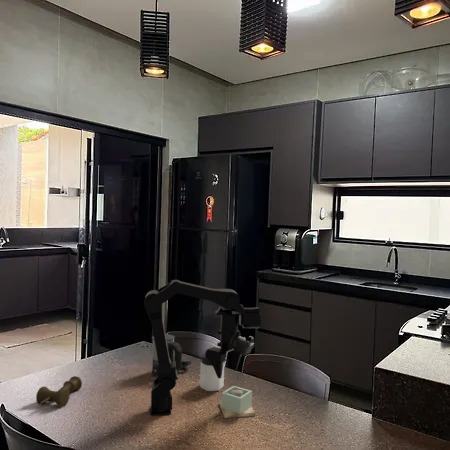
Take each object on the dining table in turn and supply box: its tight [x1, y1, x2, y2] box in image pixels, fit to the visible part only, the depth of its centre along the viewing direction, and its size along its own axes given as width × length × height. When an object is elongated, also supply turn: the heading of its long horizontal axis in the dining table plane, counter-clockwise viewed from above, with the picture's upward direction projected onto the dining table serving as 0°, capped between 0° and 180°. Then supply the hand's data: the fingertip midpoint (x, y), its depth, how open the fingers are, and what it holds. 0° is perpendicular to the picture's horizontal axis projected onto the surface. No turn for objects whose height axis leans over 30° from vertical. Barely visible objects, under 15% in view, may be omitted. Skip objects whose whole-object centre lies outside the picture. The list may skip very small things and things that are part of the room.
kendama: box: [35, 375, 83, 408], centre depth 148 cm, size 6×10×20 cm
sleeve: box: [220, 385, 253, 414], centre depth 143 cm, size 7×7×5 cm
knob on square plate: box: [218, 390, 256, 419], centre depth 143 cm, size 10×10×6 cm
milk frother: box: [151, 333, 193, 377], centre depth 177 cm, size 14×16×15 cm
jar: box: [199, 352, 225, 392], centre depth 162 cm, size 9×8×12 cm
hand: (227, 374), depth 144 cm, fingers open, 9 cm apart
